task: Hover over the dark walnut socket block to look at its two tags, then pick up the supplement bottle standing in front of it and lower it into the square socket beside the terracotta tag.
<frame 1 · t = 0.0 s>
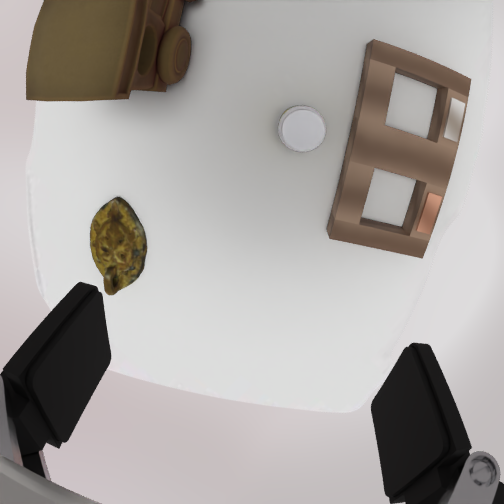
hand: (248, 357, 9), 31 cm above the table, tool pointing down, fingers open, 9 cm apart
socket block: (398, 150, 35), on the table
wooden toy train: (158, 23, 30), on the table
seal: (119, 243, 44), on the table
supplement bottle: (299, 125, 35), on the table
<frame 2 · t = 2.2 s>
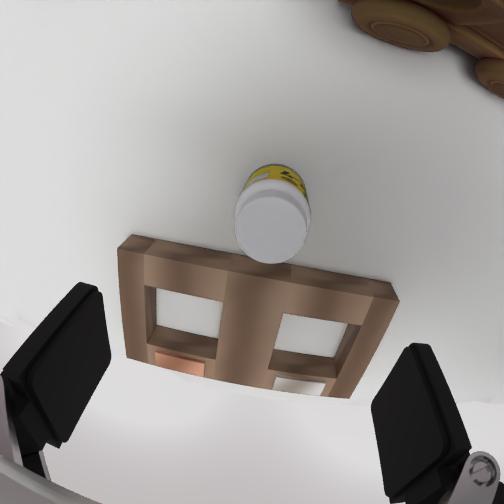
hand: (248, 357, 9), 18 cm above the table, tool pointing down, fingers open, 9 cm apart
socket block: (250, 318, 31), on the table
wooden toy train: (443, 12, 17), on the table
supplement bottle: (275, 191, 25), on the table
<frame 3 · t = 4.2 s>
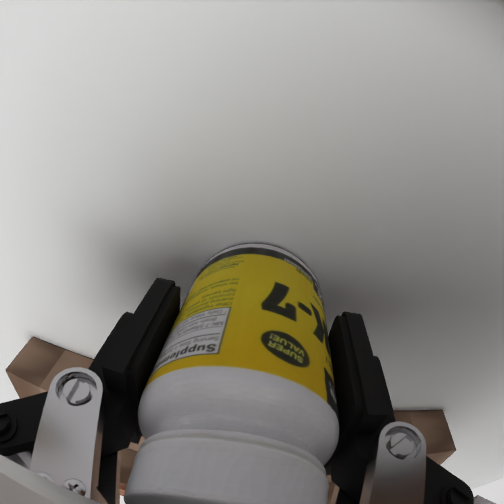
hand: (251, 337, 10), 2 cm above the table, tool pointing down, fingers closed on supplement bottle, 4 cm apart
socket block: (224, 452, 17), on the table
supplement bottle: (257, 295, 12), on the table, touching gripper
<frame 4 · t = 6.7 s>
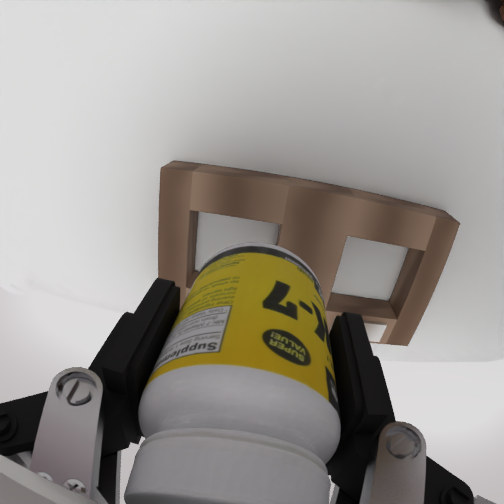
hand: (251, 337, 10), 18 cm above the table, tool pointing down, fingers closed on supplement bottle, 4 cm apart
socket block: (303, 253, 28), on the table
supplement bottle: (258, 294, 12), point 15 cm above the table, touching gripper
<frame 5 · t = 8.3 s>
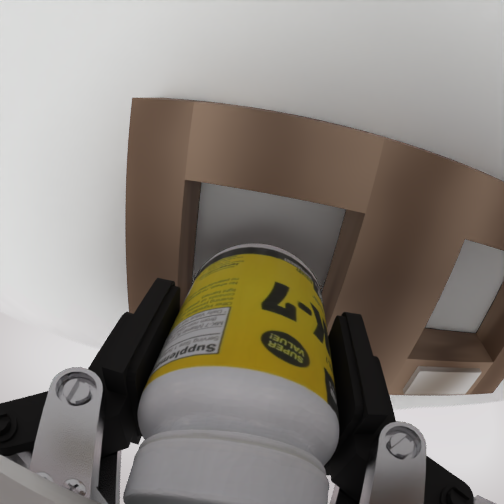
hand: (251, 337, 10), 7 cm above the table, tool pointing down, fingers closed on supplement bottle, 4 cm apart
socket block: (376, 266, 16), on the table
supplement bottle: (257, 295, 12), point 4 cm above the table, touching gripper
when the fingers open (4 cm above the table, at t = 9.3 s): supplement bottle drops 1 cm, resting in socket block.
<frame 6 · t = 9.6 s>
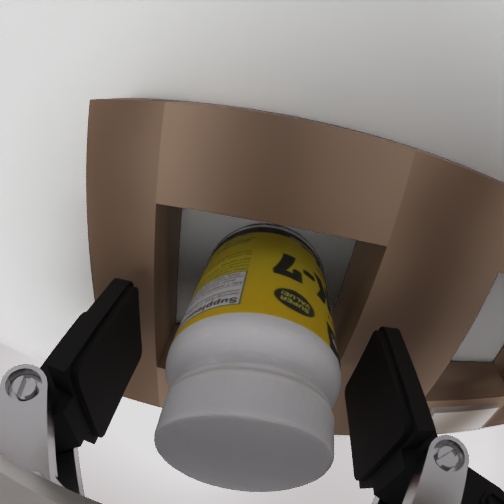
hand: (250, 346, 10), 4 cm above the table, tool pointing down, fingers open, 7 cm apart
socket block: (391, 298, 13), on the table
supplement bottle: (265, 272, 14), resting in socket block
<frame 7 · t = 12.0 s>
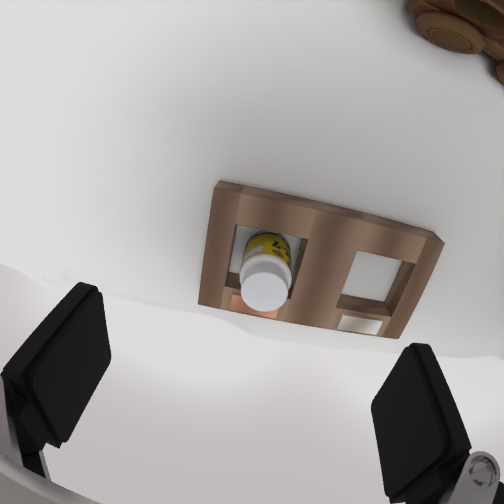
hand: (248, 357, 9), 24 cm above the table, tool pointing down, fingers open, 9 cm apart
socket block: (319, 261, 34), on the table
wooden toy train: (473, 25, 21), on the table
supplement bottle: (267, 249, 35), resting in socket block
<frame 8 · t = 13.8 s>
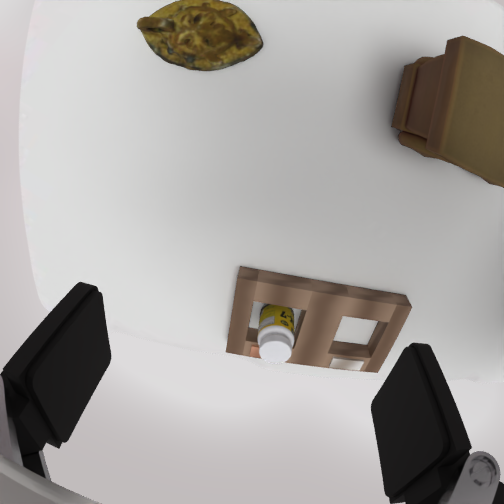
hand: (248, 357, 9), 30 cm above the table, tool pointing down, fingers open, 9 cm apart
socket block: (316, 319, 45), on the table
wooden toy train: (453, 121, 31), on the table
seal: (201, 34, 30), on the table
supplement bottle: (277, 312, 45), resting in socket block
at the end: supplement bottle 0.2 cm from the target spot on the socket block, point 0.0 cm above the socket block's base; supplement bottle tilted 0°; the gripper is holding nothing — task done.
